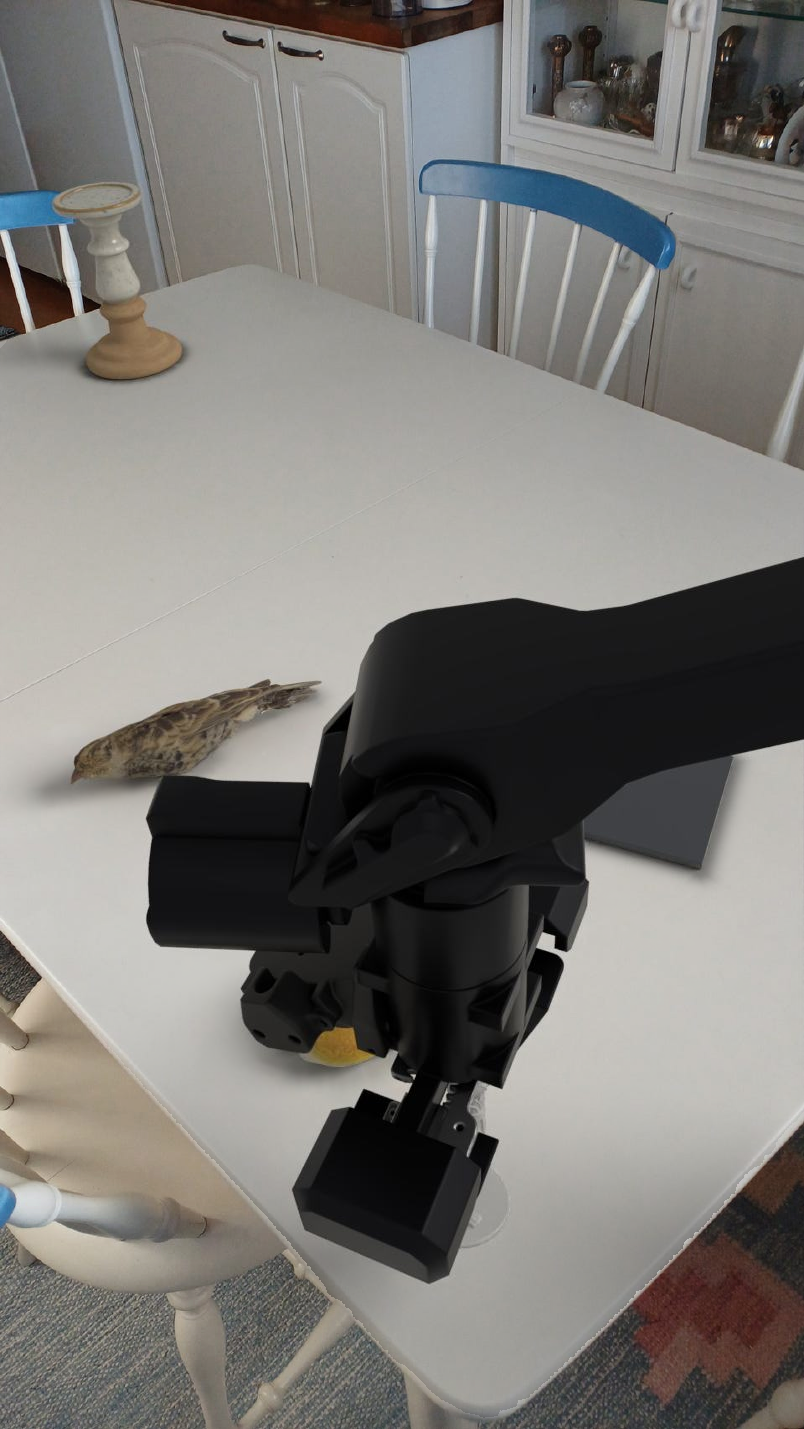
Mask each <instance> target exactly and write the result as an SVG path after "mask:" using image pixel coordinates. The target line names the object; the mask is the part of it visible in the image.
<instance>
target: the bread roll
mask: <svg viewBox="0 0 804 1429" xmlns="http://www.w3.org/2000/svg"><path fill="white" fill-rule="evenodd" d="M298 1055H299V1056H300V1057H301V1059H303V1060H304V1061H305V1062H310V1063H313V1064H317V1065H323V1066H326V1067H334V1068H347V1067H351V1066H354V1065H358V1064H361V1063H364V1062H366V1061H368V1060H370V1059H372V1058H374V1057H376V1056H375V1055H372V1054H369V1053H367V1052H364V1051H361V1050H359V1049H357V1046H356V1040H355V1035H354V1029H353V1028H337V1027H335V1028H334V1030H333V1031H325V1032H323V1033H322V1034H321V1035H320V1036H319V1038H318V1039H317V1041H316V1043H315V1045H314V1047H313V1049H312V1050H311V1051H310V1052H309V1053H306V1054H302V1053H298Z"/></svg>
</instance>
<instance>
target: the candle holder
mask: <svg viewBox="0 0 804 1429" xmlns="http://www.w3.org/2000/svg"><path fill="white" fill-rule="evenodd" d="M142 197H143V194H142V191H141V189H140V188H139V186H137V185H135V184H133V183H129V182H123V181H102V182H93V183H87V184H82V185H78V186H74V187H71V188H68V189H67V190H64V191H62V192H60V193H58V194H56V196H54V197H53V198H52V201H51V206H52V210H53V211H54V213H55V214H56V215H58V216H60V217H63V218H66V219H67V218H68V219H73V220H79V221H80V223H81V224H82V225H84V226H86V228H87V229H88V231H89V233H90V239H91V240H90V241H89V243H88V244H87V246H86V249H87V252H88V253H89V255H92V256H93V257H94V262H95V281H94V282H95V286H94V287H95V293H96V294H97V296H99V297H100V298H101V299H102V302H101V305H100V307H99V314H100V315H101V317H103V318H104V319H105V320H107V323H108V329H109V330H108V331H109V332H108V333H107V334H105V335H103V336H102V337H100V339H99V340H98V341H97V342H96V343H95V344H93V345H92V346H91V347H90V348H89V349H88V351H87V353H86V356H85V362H86V366H87V367H88V369H89V371H90V372H91V373H93V375H95V376H98V377H101V378H104V379H109V380H110V379H111V380H133V379H139V378H145V377H149V376H153V375H155V374H158V373H161V372H163V371H165V370H167V369H169V368H171V367H172V366H173V365H175V364H176V363H177V362H178V361H179V360H180V358H181V357H182V353H183V348H182V343H181V341H180V340H179V338H177V337H176V336H175V335H173V334H172V333H170V332H167V331H163V330H161V329H159V328H157V327H153V326H147V323H146V320H145V317H144V314H145V311H146V309H147V307H148V306H147V302H146V301H145V299H144V298H142V297H141V296H139V295H138V294H139V292H140V290H141V280H140V278H139V277H138V275H137V273H136V272H135V270H134V268H133V266H132V264H131V261H130V260H129V256H128V254H127V250H128V249H129V247H130V241H129V240H128V239H127V238H126V237H124V236H123V235H122V234H121V232H120V224H119V223H120V221H121V220H122V218H123V215H124V213H125V212H127V211H129V210H131V209H133V208H135V207H136V206H138V205H139V204H140V203H141V201H142V199H143V198H142Z"/></svg>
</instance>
